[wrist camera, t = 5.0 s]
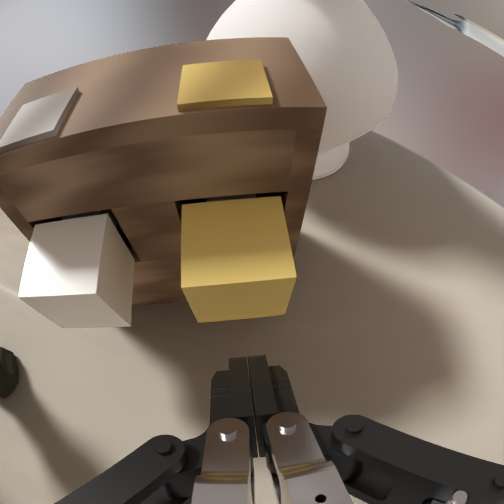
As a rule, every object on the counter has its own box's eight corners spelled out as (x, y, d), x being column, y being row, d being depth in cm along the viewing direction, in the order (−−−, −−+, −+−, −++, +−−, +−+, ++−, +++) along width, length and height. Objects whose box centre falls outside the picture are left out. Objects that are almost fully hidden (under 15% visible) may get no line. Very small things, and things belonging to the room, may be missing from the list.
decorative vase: (382, 126, 35) (432, -58, 13) (348, 231, 27) (446, -76, 5) (253, 85, 39) (256, -88, 17) (175, 165, 31) (133, -88, 9)
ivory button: (62, 327, 15) (17, 297, 11) (75, 237, 18) (44, 194, 14) (130, 326, 15) (96, 293, 12) (137, 230, 18) (114, 182, 15)
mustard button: (198, 322, 16) (181, 287, 12) (195, 224, 19) (183, 172, 15) (284, 314, 16) (296, 276, 12) (269, 218, 19) (273, 165, 15)
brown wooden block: (96, 306, 23) (-34, 163, 9) (105, 233, 26) (23, 79, 12) (284, 292, 24) (328, 100, 10) (272, 217, 27) (288, 32, 13)
